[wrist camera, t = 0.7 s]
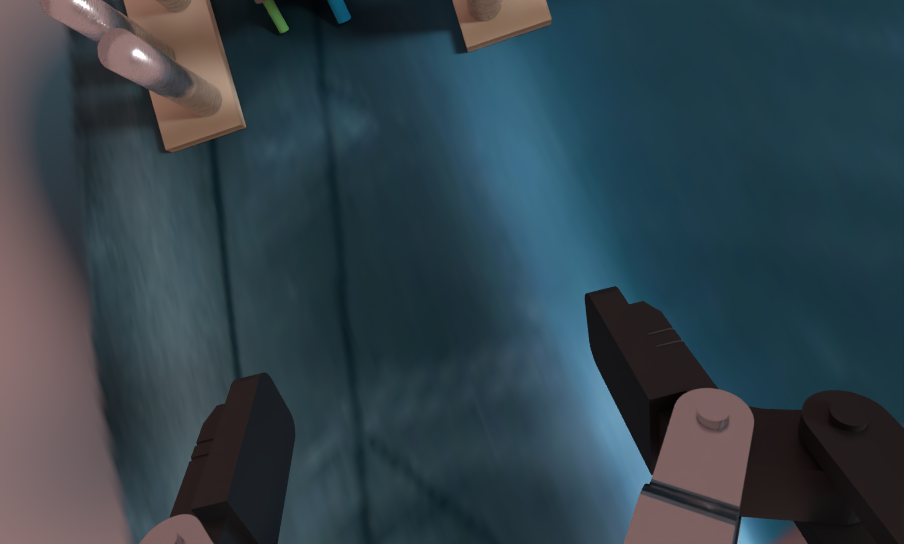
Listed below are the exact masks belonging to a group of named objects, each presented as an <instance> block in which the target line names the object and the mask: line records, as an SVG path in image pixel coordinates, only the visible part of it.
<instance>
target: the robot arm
mask: <svg viewBox="0 0 904 544" xmlns="http://www.w3.org/2000/svg"><path fill="white" fill-rule="evenodd" d="M585 306H586V315H587V325H588V334H589V342H590V347H591V351H592V355H593V358H594V361H595V363H596V365H597V367H598V369H599V371H600V373H601V375H602V377H603V379H604V381H605V383H606V385H607V387H608V389H609V391H610V393H611V395H612V397H613V399H614V401H615V403H616V405H617V407H618V409H619V411H620V413H621V415H622V417H623V419H624V421H625V423H626V425H627V427H628V429H629V431H630V433H631V435H632V437H633V439H634V441H635V443H636V445H637V447H638V449H639V451H640V453H641V455H642V457H643V459H644V461H645V463H646V465H647V467H648V469H649V471H650V473H651V475H653V477H652V480H651V482H650V484H645V485H644V486H643V488H642V490H641V493H640V495H639V498H638V501H637V504H636V508H635V511H634V514H633V517H632V520H631V523H630V526H629V529H628V532H627V536H626V539H625V542H624V544H737V542H738V536H739V530H740V524H741V518H742V517H753V518H766V519H778V520H790V521H794V522H795V524H796V526H797V527H798V529H799V530H800V532H801V533H802V535H803V537H804V538H805V540H806V541H807V543H808V544H904V428H903V427H902V426H901V425H900V424H899V423H898V422H897V421H896V420H895V419H894V418H893V417H892V416H891V415H890V414H889V413H888V412H887V411H886V410H885V409H884V408H883V407H882V406H880V405H879V404H878V403H876V402H874V401H872V400H871V399H869V398H866V397H864V396H862V395H859V394H856V393H852V392H847V391H839V390H829V391H822V392H819V393H816V394H814V395H812V396H810V397H809V398H808V399H807V400H806V401H805V402H804V405H803V407H802V410H782V409H760V408H755V407H750V406H747V405H746V404H745V403H744V402H743V401H742V400H741V399H740V398H738V397H737V396H735V395H733V394H731V393H729V392H726V391H723V390H719V389H718V388H717V386H716V385H715V384H714V383H713V381H712V380H711V379H710V377H709V376H708V374H707V373H706V372H705V370H704V369H703V368H702V366H701V365H700V364H699V362H698V361H697V360H696V358H695V357H694V356H693V354H692V353H691V351H690V350H689V349H688V347H687V346H686V345H685V343H684V342H682V341H681V338H680V337H679V335H678V334H677V333H676V331H675V330H673V329H672V326H671V324H670V323H669V322H668V320H667V319H666V318H665V316H664V315H663V314H662V312H661V311H659V310H657V309H655V308H654V307H652V306H650V305H649V304H647V303H645V302H644V301H642V302H638V303H634V304H630V305H629V304H628V302H627V301H626V299H625V298H624V296H623V295H622V293H621V292H620V290H619V289H618V288H617V287H616V286H614V287H610V288H606V289H602V290H598V291H594V292H590V293H586V294H585ZM294 441H295V426H294V421H293V418H292V415H291V413H290V411H289V409H288V407H287V406H286V404H285V402H284V400H283V398H282V397H281V395H280V393H279V391H278V390H277V388H276V386H275V384H274V382H273V381H272V379H271V377H270V376H269V375H268V374H267V373H260V374H256V375H252V376H248V377H244V378H240V379H236V380H234V381H233V383H232V384H231V387H230V390H229V393H228V396H227V400H226V403H225V404H221V405H217V406H216V408H215V409H214V410H213V412H212V413H211V414H210V415H209V417H208V418H207V419H206V421H205V422H204V423H203V425H202V428H201V431H200V434H199V437H198V439H197V442H196V443H197V446H195V448H194V451H193V453H192V456H191V459H192V461H190V462H189V465H188V467H187V470H186V473H185V476H184V479H183V481H182V484H181V487H180V490H179V493H178V495H177V498H176V501H175V504H174V507H173V509H172V512H171V515H170V518H169V519H167V520H165V521H163V522H161V523H160V524H158V525H157V526H156V527H154V528H153V529H152V530H151V531H150V532H149V533H148V534H147V535H146V536H145V537H144V538H143V540H142V541H141V542H140V544H278V538H279V532H280V526H281V520H282V514H283V508H284V502H285V495H286V489H287V483H288V477H289V471H290V465H291V459H292V453H293V447H294Z"/></svg>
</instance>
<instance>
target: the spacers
mask: <svg viewBox="0 0 904 544" xmlns="http://www.w3.org/2000/svg"><path fill="white" fill-rule="evenodd" d="M155 1H157V2H158V3H159V4H161V5H162V6H163V7H165V8H166V9H167V10H169V11H171V12H181V11H183V10H185V9H186V8H187V7H188V6H189V5H190V3H191V0H155ZM466 2H467V8H468V11H469V13H470V15H471V16H472V17H473V18H474V19H476V20H478V21H489V20H492V19H493V18H495V17H496V16H497V15H498V14H499V12H500V10H501V7H502V0H466ZM40 4H41V7H42V9H43V10H44V12H45V13H46V14H47V15H49V16H51V17H52V18H54V19H56V20H58V21H60V22H61V23H63V24H65V25H67V26H69V27H70V28H72V29H74V30H76V31H77V32H79V33H81V34H83V35H85V36H86V37H88V38H90V39H92V40H94V41H95V42H97V43H99V44H98V57H99V60H100V62H101V63H102V64H103V65H104V66H105V67H106V68H107V69H109V70H111V71H113V72H115V73H117V74H119V75H121V76H123V77H125V78H127V79H129V80H131V81H133V82H135V83H137V84H139V85H141V86H143V87H145V88H147V89H149V90H151V91H153V92H155V93H156V94H158V95H160V96H162V97H164V98H166V99H168V100H170V101H172V102H174V103H176V104H178V105H180V106H182V107H184V108H186V109H188V110H190V111H192V112H194V113H196V114H198V115H200V116H203V117H209V116H212V115H214V114H215V113H217V112H218V110H219V109H220V107H221V104H222V95H221V93H220V91H219V89H218V88H217V87H216V86H214V85H212V84H211V83H209V82H208V81H206V80H205V79H203V78H201V77H200V76H198V75H197V74H195V73H194V72H192V71H190V70H189V69H187V68H186V67H184V66H183V65H181V64H179V63H178V62H176V55H175V52H174V50H173V48H172V47H171V46H170V45H168V44H167V43H165V42H164V41H162V40H161V39H159V38H158V37H156V36H155V35H153V34H152V33H150V32H149V31H147V30H146V29H144V28H143V27H141V26H140V25H138V24H137V23H135V22H134V21H132V20H131V19H129V18H128V17H126V16H125V15H123V14H122V13H120V12H119V11H118V10H116V9H115V8H113V7H112V6H110V5H109V4H107V3H106V2H104V1H103V0H40Z"/></svg>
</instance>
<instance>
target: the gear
mask: <svg viewBox="0 0 904 544" xmlns="http://www.w3.org/2000/svg"><path fill="white" fill-rule="evenodd" d="M254 1H255V3H256V4H260V3H263V4H264V6H265V7H266V9H267V11H268V13H269V15H270V16H271V18H272V20H273V22H274V23H275V25H276V27H277V29H278V30H279V32H280V33H284V32H286V31H287V30H289V28H288V26H287V24H286V22H285V20H284V18H283V17H282V15H281V13H280V11H279V9H278V8H277V6H276V4H275V2H274V0H254ZM327 1H328V3H329V5H330V7H331V9H332V11H333V13H334V15H335V17H336V19H337V21H338V23H339V24H340V23H344V22H346V21H348V20H349V19H350V18H351V15H350V13H349V11H348V9H347V7H346V5H345V2H344V0H327Z"/></svg>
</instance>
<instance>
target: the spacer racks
mask: <svg viewBox="0 0 904 544" xmlns="http://www.w3.org/2000/svg"><path fill="white" fill-rule="evenodd" d="M452 1H453V5H454V8H455V11H456V15H457V18H458V21H459V25H460V28H461V31H462V35H463V38H464V41H465V45H466V48H467V51H468V52H471V51H474V50H477V49H480V48H483V47H485V46H488V45H491V44H494V43H497V42H500V41H503V40H506V39H509V38H512V37H515V36H518V35H521V34H524V33H527V32H530V31H533V30H536V29H539V28H542V27H545V26H547V25H550V24H551V20H552V19H551V15H550V12H549V9H548V6H547V2H546V0H502V7H501V10H500V12H499V14H498V15H497V16H496V17H495V18H493V19H492V20H489V21H478V20H476V19H474V18H473V17H472V16H471V15H470V13H469V11H468V8H467V2H466V0H452ZM124 4H125V7H126V11H127V15H128V18H129V19H131V20H132V21H134V22H135V23H137V24H138V25H140V26H141V27H143V28H144V29H146V30H147V31H149V32H150V33H152V34H153V35H155V36H156V37H158V38H159V39H161V40H162V41H164V42H165V43H167V44H168V45H170V46H171V47H172V48H173V50H174V52H175V55H176V62H178V63H179V64H181V65H183V66H184V67H186V68H187V69H189V70H190V71H192V72H194V73H195V74H197V75H198V76H200V77H201V78H203V79H205V80H206V81H208V82H209V83H211V84H212V85H214V86H216V87H217V88H218V89H219V91H220V93H221V95H222V104H221V107H220V109H219V110H218V112H217V113H215V114H214V115H212V116H209V117H203V116H200V115H198V114H196V113H194V112H192V111H190V110H188V109H186V108H184V107H182V106H180V105H178V104H176V103H174V102H172V101H170V100H168V99H166V98H164V97H162V96H160V95H158V94H156V93H155V92H153V91H151V90H149V92H150V96H151V99H152V103H153V107H154V110H155V114H156V117H157V121H158V124H159V128H160V131H161V135H162V138H163V142H164V146H165V149H166V150H167V151H170V152H175V151H178V150H181V149H184V148H187V147H190V146H193V145H196V144H199V143H202V142H205V141H208V140H211V139H214V138H217V137H220V136H223V135H226V134H229V133H232V132H234V131H237V130H240V129H243V128H246V124H245V121H244V117H243V114H242V110H241V107H240V103H239V100H238V96H237V93H236V90H235V86H234V83H233V79H232V76H231V72H230V69H229V65H228V62H227V58H226V55H225V51H224V48H223V44H222V41H221V37H220V34H219V30H218V27H217V23H216V20H215V16H214V13H213V9H212V6H211V2H210V0H191V3H190V5H189V6H188V7H187V8H186V9H185V10H183V11H181V12H171V11H169V10H167V9H166V8H165V7H163V6H162V5H161V4H159V3H158V2H157V1H155V0H124Z"/></svg>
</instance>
